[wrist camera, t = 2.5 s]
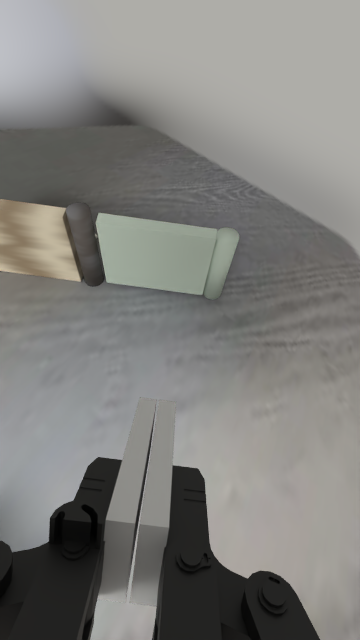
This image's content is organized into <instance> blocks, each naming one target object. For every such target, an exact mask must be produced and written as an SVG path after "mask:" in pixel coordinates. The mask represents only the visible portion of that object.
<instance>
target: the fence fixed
mask: <svg viewBox="0 0 360 640" xmlns="http://www.w3.org/2000/svg"><path fill="white" fill-rule="evenodd" d="M0 271H5V272H13V273H20V274H28V275H35V276H42V277H50V278H57V279H65V280H72V281H80V282H81V280H82V277H83V275H84V279H85V282H86V284H88V285H89V286H98V285H100V284H101V283H102V282H103V279H104V278H103V273H102V268H101V262H100V257H99V252H98V247H97V242H96V236H95V231H94V226H93V221H92V216H91V211H90V207H89V206H88V205H87V204H85V203H81V202H77V203H73V204H71V205H69V206H68V207H67V209H66V208H61V207H54V206H46V205H39V204H32V203H25V202H18V201H10V200H3V199H0Z"/></svg>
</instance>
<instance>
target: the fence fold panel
mask: <svg viewBox="0 0 360 640" xmlns="http://www.w3.org/2000/svg"><path fill="white" fill-rule="evenodd" d="M96 227H97V233H98V238H99V244H100V249H101V255H102V260H103V266H104V271H105V276H106V282H107V283H115V284H122V285H129V286H137V287H144V288H152V289H159V290H167V291H174V292H181V293H189V294H196V295H202V294H203V295H204V296H205V297H206V298H208V299H211V300H215V299H217V298H219V297H220V295H221V292H222V289H223V286H224V283H225V280H226V277H227V274H228V271H229V268H230V265H231V262H232V259H233V256H234V253H235V250H236V247H237V244H238V241H239V234H238V232H237V231H236V230H234V229H232V228H229V227H224V228H221V229H219V230H218V231H217V229H213V228H205V227H198V226H191V225H184V224H176V223H169V222H162V221H155V220H148V219H140V218H133V217H126V216H119V215H111V214H104V213H99V214H98V217H97V220H96Z"/></svg>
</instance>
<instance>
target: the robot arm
mask: <svg viewBox="0 0 360 640" xmlns="http://www.w3.org/2000/svg"><path fill="white" fill-rule="evenodd" d="M156 401H157V400H156V399H149V398H141V397H140V399H139V403H138V406H137V410H136V413H135V417H134V420H133V424H132V428H131V431H130V435H129V438H128V442H127V445H126V449H125V453H124V456H123V460H117V459H109V458H101V457H98V458H96V459H95V460H94V461H93V462H92V463H91V464H90V465H89V466H88V468H87V470H86V473H85V475H84V477H83V480H82V482H81V484H80V487H79V489H78V492H77V494H76V496H75V499H74V501H71V502H68V503H66V504H63V505H62V506H61V507H59V508H58V509H56V510H55V512H54V513H53V514H52V516H51V517H50V531H49V542H48V543H46V544H44V545H42V546H40V547H36V548H33V549H29V550H23V551H18V552H12V551H11V549H10V546H8V545H7V544H6V543H4V542H3V541H0V640H90V637H91V632H92V628H93V623H94V612H95V606H96V602H97V598H98V600H106V601H115V602H123V603H125V602H126V596H127V589H128V583H129V577H130V571H131V565H132V559H133V553H134V547H135V540H136V534H137V528H138V522H139V516H140V510H141V504H142V498H143V491H144V485H145V479H146V473H147V467H148V461H149V455H150V448H151V440H152V432H153V424H154V416H155V409H156ZM175 411H176V402H172V401H164V400H159V405H158V412H157V418H156V424H155V431H154V437H153V443H152V450H151V456H150V462H149V469H148V475H147V481H146V488H145V494H144V500H143V507H142V513H141V519H140V526H139V534H138V542H137V550H136V558H135V565H134V573H133V581H132V589H131V597H130V603H132V604H140V605H149V606H157V609H156V619H155V625H154V632H153V638H152V640H320V639H319V637H318V635H317V633H316V631H315V629H314V627H313V625H312V623H311V621H310V619H309V617H308V615H307V613H306V611H305V609H304V608H303V606H302V604H301V602H300V600H299V598H298V596H297V594H296V593H295V591H294V590H293V588H292V587H291V586H290V584H289V583H288V582H286V581H285V580H284V579H283V578H282V577H281V576H279V575H276V574H274V573H272V572H269V571H258V572H256V573H253V574H252V575H251V576H250V577H249V578H248V579H247V578H245V577H242V576H240V575H238V574H236V573H234V572H232V571H230V570H228V569H227V568H225V567H224V566H223V565H222V564H221V563H220V562H219V561H218V560H217V559H216V557H215V556H214V554H213V552H212V550H211V547H210V543H209V531H208V518H207V506H206V494H205V480H204V478H203V476H202V475H201V473H200V471H199V469H197V468H189V467H181V466H173V447H174V429H175ZM98 594H99V595H98Z"/></svg>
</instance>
